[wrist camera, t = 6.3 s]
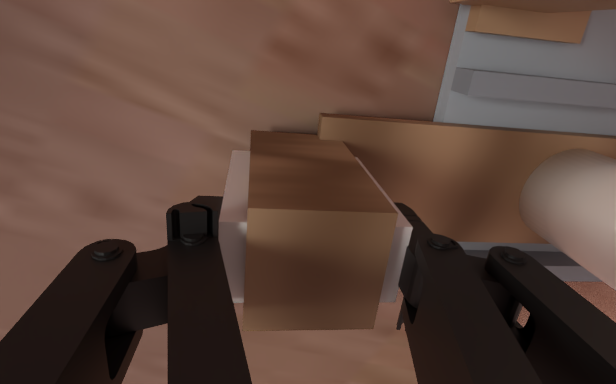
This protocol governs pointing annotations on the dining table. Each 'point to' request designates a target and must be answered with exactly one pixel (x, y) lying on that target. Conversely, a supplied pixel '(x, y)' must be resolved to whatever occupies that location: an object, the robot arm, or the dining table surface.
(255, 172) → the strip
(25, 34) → the dining table surface
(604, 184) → the cream rounded capsule
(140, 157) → the dining table surface
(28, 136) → the dining table surface
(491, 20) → the lane board
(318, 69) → the dining table surface
